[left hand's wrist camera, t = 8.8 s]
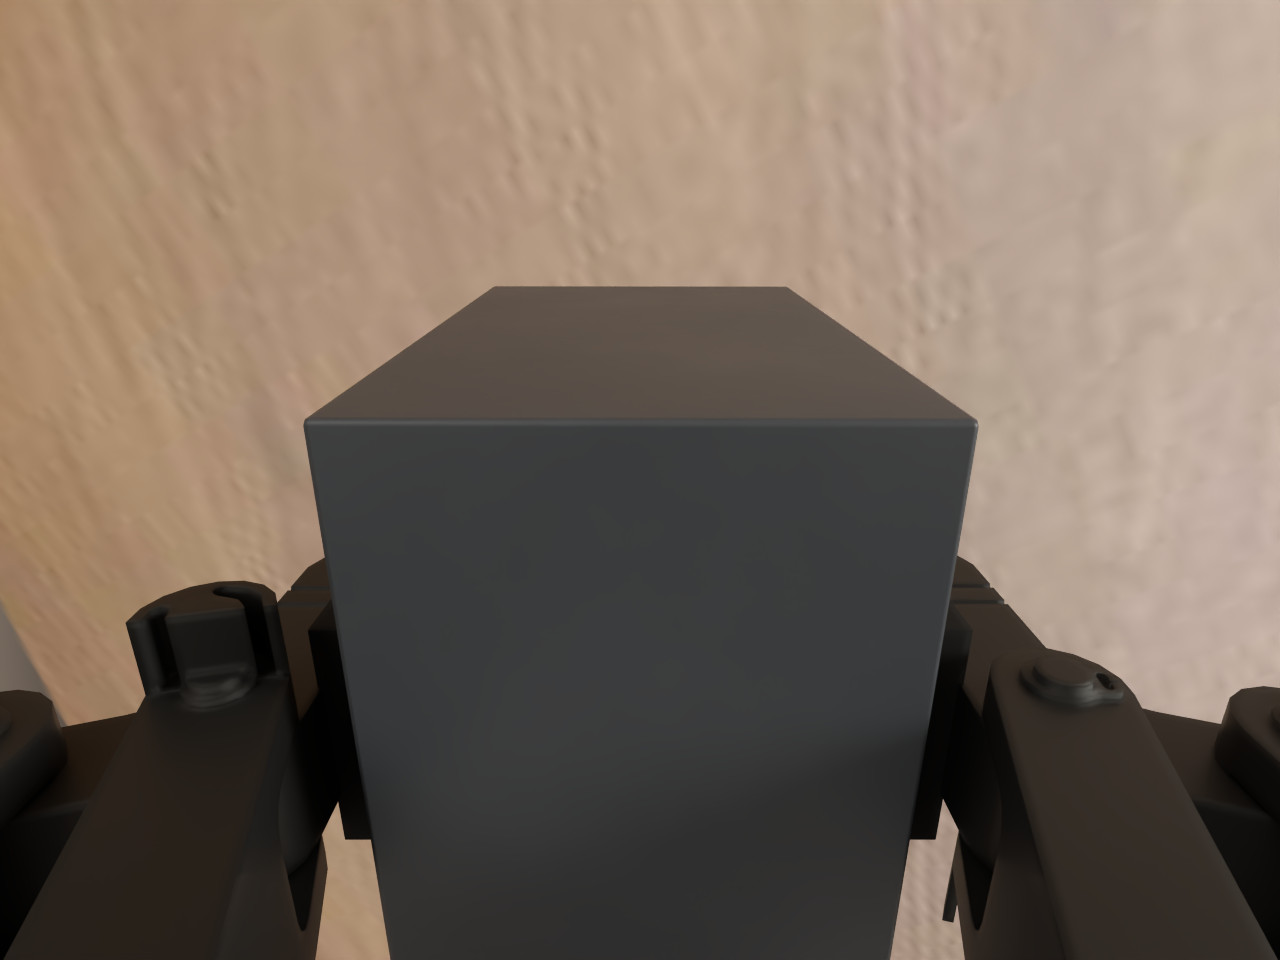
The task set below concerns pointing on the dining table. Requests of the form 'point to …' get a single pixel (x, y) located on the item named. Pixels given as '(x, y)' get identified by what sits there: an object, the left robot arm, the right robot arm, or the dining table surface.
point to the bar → (640, 623)
